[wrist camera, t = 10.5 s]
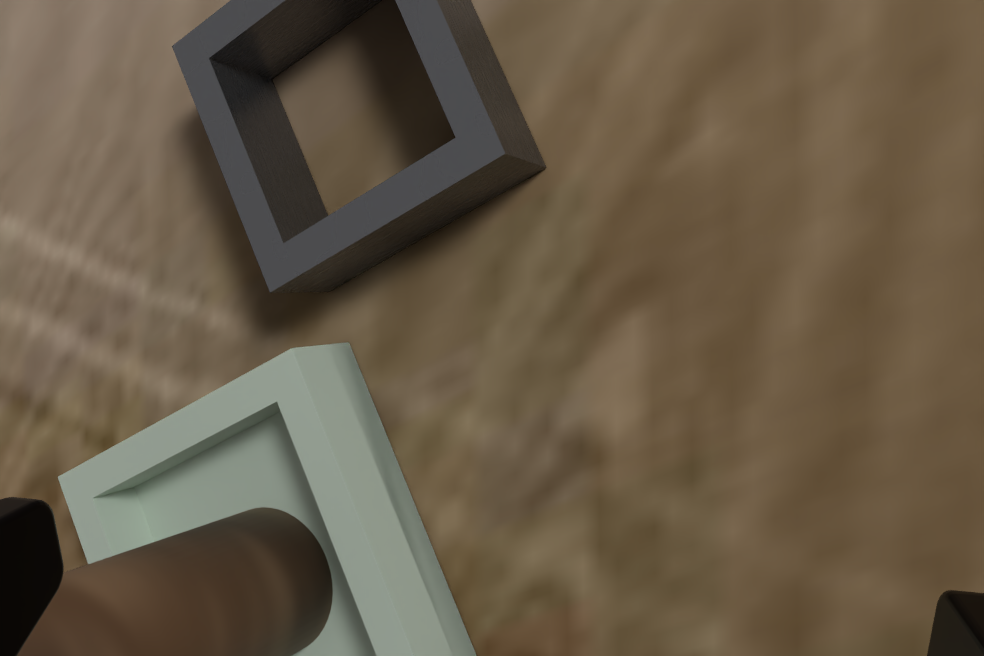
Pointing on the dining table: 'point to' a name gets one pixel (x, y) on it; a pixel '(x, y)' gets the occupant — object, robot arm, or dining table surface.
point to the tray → (285, 496)
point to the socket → (281, 165)
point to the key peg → (196, 595)
